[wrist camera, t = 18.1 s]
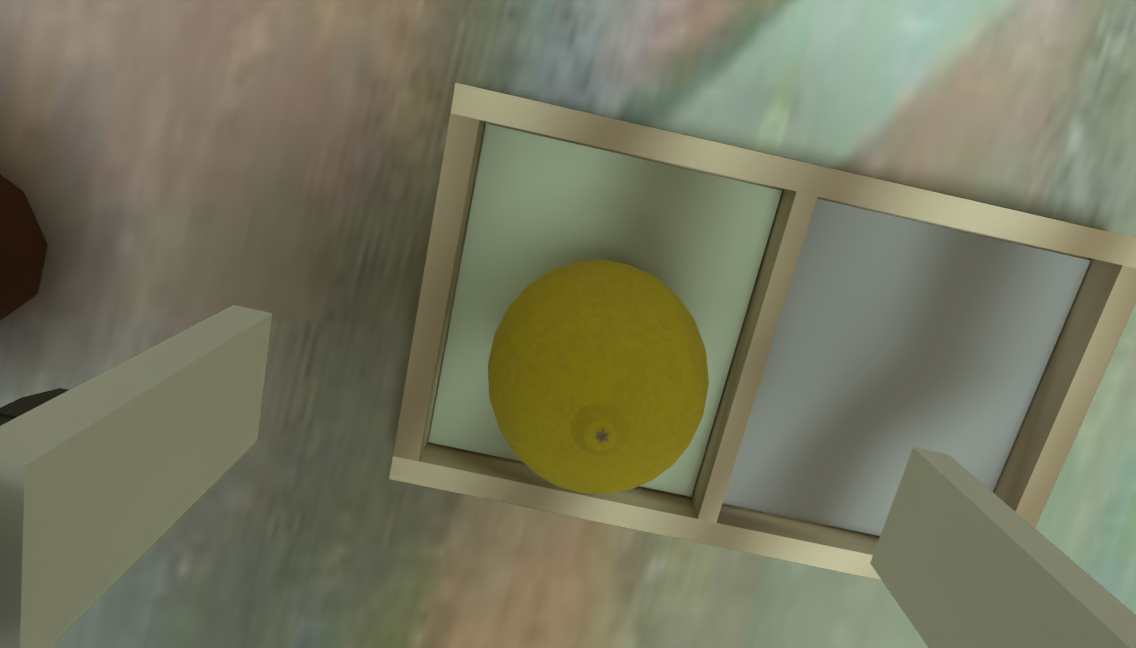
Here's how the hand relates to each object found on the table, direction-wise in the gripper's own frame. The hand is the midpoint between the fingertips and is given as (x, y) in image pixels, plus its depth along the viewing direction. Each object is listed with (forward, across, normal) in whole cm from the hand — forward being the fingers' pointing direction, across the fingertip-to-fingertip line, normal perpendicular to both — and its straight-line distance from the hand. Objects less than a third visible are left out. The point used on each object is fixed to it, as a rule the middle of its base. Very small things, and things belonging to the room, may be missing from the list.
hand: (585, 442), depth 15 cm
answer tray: (+9, -5, 0) cm, 10 cm away
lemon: (+8, 0, 0) cm, 8 cm away
